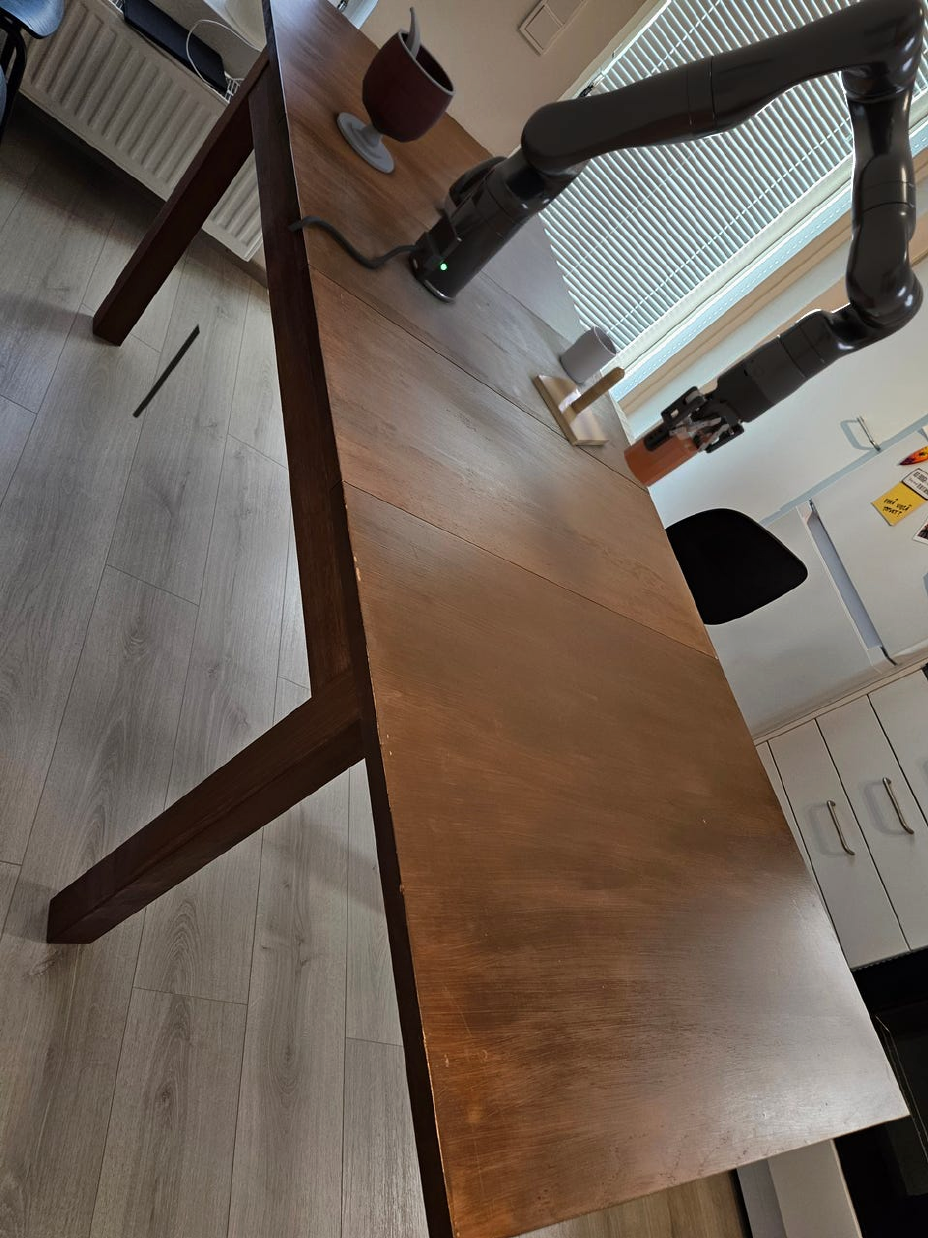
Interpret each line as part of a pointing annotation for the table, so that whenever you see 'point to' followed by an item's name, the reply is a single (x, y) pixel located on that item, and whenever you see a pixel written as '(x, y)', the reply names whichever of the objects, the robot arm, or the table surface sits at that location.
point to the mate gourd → (398, 97)
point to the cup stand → (577, 406)
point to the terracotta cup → (659, 457)
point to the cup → (588, 354)
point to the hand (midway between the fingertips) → (659, 453)
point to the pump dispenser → (469, 183)
